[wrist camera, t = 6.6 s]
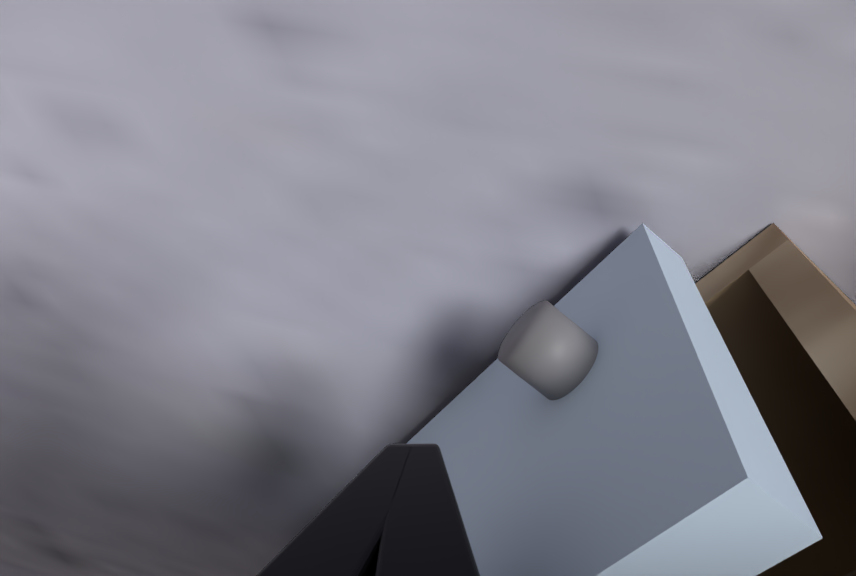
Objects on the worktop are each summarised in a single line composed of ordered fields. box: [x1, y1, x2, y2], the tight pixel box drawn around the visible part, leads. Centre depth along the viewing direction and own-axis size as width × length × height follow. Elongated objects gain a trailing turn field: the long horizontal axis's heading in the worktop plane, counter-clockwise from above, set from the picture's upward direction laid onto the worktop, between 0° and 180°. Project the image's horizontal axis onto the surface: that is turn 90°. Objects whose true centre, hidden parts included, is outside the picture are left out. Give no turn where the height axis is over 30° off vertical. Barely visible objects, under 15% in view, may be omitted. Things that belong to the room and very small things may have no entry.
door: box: [406, 223, 823, 576], centre depth 11 cm, size 13×2×7 cm, turn 142°
